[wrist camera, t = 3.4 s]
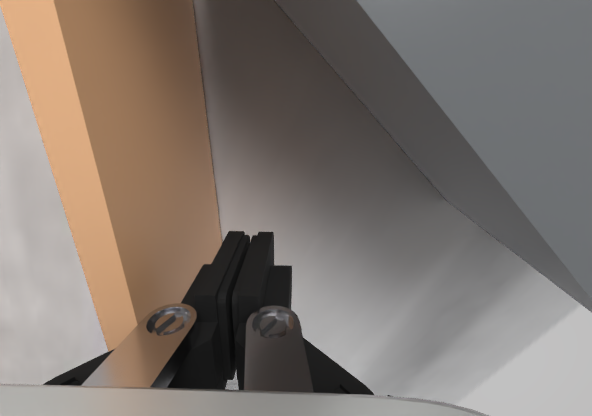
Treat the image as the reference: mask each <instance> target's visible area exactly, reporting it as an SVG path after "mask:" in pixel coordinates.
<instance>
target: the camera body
mask: <svg viewBox="0 0 592 416" xmlns="http://www.w3.org/2000/svg"><path fill="white" fill-rule="evenodd" d="M274 1H275V2H276V3H277V4H278V5H279V7H280V8H281V9H282V10H283V11H284V12H285V14H286V15H287V16H288V17H289V18H290V19H291V21H292V22H293V23H294V24H295V25H296V26H297V28H298V29H299V30H300V31H301V32H302V33H303V35H304V36H305V37H306V38H307V39H308V40H309V42H310V43H311V44H312V45H313V46H314V47H315V48H316V50H317V51H318V52H319V53H320V54H321V55H322V57H323V58H324V59H325V60H326V61H327V62H328V64H329V65H330V66H331V67H332V68H333V69H334V71H335V72H336V73H337V74H338V75H339V76H340V78H341V79H342V80H343V81H344V82H345V83H346V85H347V86H348V87H349V88H350V89H351V90H352V91H353V93H354V94H355V95H356V96H357V97H358V98H359V100H360V101H361V102H362V103H363V104H364V105H365V107H366V108H367V109H368V110H369V111H370V112H371V114H372V115H373V116H374V117H375V118H376V119H377V121H378V122H379V123H380V124H381V125H382V126H383V127H384V129H385V130H386V131H387V132H388V133H389V134H390V136H391V137H392V138H393V139H394V140H395V141H396V143H397V144H398V145H399V146H400V147H401V148H402V150H403V151H404V152H405V153H406V154H407V155H408V157H409V158H410V159H411V160H412V161H413V162H414V164H415V165H416V166H417V167H418V168H419V169H420V170H421V172H422V173H423V174H424V175H425V176H426V177H427V179H428V180H429V181H430V182H431V183H432V184H433V186H434V187H435V188H436V189H437V190H438V191H439V193H440V194H441V195H442V196H443V197H444V198H445V200H446V201H447V202H449V203H450V204H451V205H453V206H454V207H455V208H456V209H458V210H459V211H460V212H462V213H463V214H464V215H466V216H467V217H468V218H470V219H471V220H472V221H473V222H475V223H476V224H477V225H479V226H480V227H481V228H483V229H484V230H485V231H486V232H488V233H489V234H490V235H492V236H493V237H494V238H496V239H497V240H498V241H499V242H501V243H502V244H503V245H505V246H506V247H507V248H509V249H510V250H511V251H513V252H514V253H515V254H516V255H518V256H519V257H520V258H522V259H523V260H524V261H526V262H527V263H528V264H529V265H531V266H532V267H533V268H535V269H536V270H537V271H539V272H540V273H541V274H542V275H544V276H545V277H546V278H548V279H549V280H550V281H552V282H553V283H554V284H555V285H557V286H558V287H559V288H561V289H562V290H563V291H565V292H566V293H567V294H569V295H570V296H571V297H572V298H574V299H575V300H576V301H578V302H579V303H580V304H582V305H583V306H584V307H585V308H587V309H588V310H589V311H591V312H592V0H274Z"/></svg>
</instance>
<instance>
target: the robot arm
mask: <svg viewBox="0 0 592 416" xmlns="http://www.w3.org/2000/svg"><path fill="white" fill-rule="evenodd" d="M291 292H292V266H275V265H274V234H273V232H258V235H257V236H256V235H253V237H252V239H251V242H250V236H249V235H245V233H244V232H243V231H229V232H228V234H227V236H226V238H225V239H224V241H223V243H222V245H221V247H220V249H219V251H218V252H217V254H216V256H215V258H214V260H213V262H212V264H204V265H203V266H202V267H201V269H200V271H199V273H198V274H197V276H196V278H195V279H194V281H193V283H192V284H191V286H190V288H189V290H188V291H187V293H186V295H185V296H184V298H183V300H182V302H181V303H174V304H169V305H165V306H162V307H159V308H157V309H155V310H153V311H152V312H150V313H149V314H148V315H147V316H146V317H145V318H144V319H143V320H142V321H141V322H140V323H139V324H138V325H137V326H136V327H135V328H134V329H133V330H132V331H131V333H130V334H129V335H128V336H127V337H126V338H125V339H124V340H123V341H122V342H121V343H120V344H119V345H118V346H117V348H115V349H113V350H111V351H109V352H107V353H105V354H103V355H101V356H99V357H97V358H94V359H92V360H90V361H88V362H86V363H84V364H82V365H80V366H78V367H76V368H74V369H72V370H70V371H67V372H65V373H63V374H61V375H59V376H57V377H55V378H53V379H52V380H50V381H48V382H46V383H45V384H43V385H23V384H0V416H489V415H486V414H483V413H480V412H478V411H475V410H472V409H468V408H464V407H459V406H456V405H452V404H448V403H444V402H437V401H431V400H425V399H418V398H405V397H393V396H389V395H388V396H378V395H374V394H373V392H372V391H371V390H370V389H368V388H367V387H366V386H365V385H364V384H363V383H361V382H360V381H359V380H358V379H356V378H355V377H354V376H352V375H351V374H350V373H349V372H347V371H346V370H345V369H343V368H342V367H341V366H339V365H338V364H337V363H336V362H334V361H333V360H332V359H330V358H329V357H328V356H326V355H325V354H324V353H323V352H321V351H320V350H319V349H317V348H316V347H315V346H313V345H312V344H311V343H310V342H308V341H307V340H306V339H304V338H303V336H302V331H301V326H300V321H299V318H298V316H297V315H296V314H295V313H294V312H293V311H292V310H291ZM236 370H237V379H238V386H239V390H225V387H226V383H227V380H233V378H234V375H235V371H236Z"/></svg>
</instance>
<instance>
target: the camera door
mask: <svg viewBox="0 0 592 416" xmlns="http://www.w3.org/2000/svg"><path fill="white" fill-rule="evenodd" d="M0 6H1V9H2V12H3V15H4V19H5V22H6V25H7V28H8V31H9V34H10V38H11V41H12V44H13V47H14V50H15V54H16V57H17V60H18V63H19V66H20V70H21V73H22V76H23V79H24V82H25V86H26V89H27V92H28V95H29V98H30V102H31V105H32V108H33V111H34V114H35V118H36V121H37V124H38V127H39V130H40V134H41V137H42V140H43V143H44V146H45V150H46V153H47V156H48V159H49V162H50V166H51V169H52V172H53V175H54V178H55V182H56V185H57V188H58V191H59V194H60V198H61V201H62V204H63V207H64V210H65V214H66V217H67V220H68V223H69V226H70V230H71V233H72V236H73V239H74V242H75V246H76V249H77V252H78V255H79V258H80V262H81V265H82V268H83V271H84V274H85V278H86V281H87V284H88V287H89V290H90V294H91V297H92V300H93V303H94V306H95V310H96V313H97V316H98V319H99V322H100V326H101V329H102V332H103V335H104V338H105V342H106V345H107V348H108V351H111V350H113V349H115V348H117V346H118V345H119V344H120V343H121V342H122V341H123V340H124V339H125V338H126V337H127V336H128V335H129V334H130V333H131V331H132V330H133V329H134V328H135V327H136V326H137V325H138V324H139V323H140V322H141V321H142V320H143V319H144V318H145V317H146V316H147V315H148V314H149V313H150V312H152V311H153V310H155V309H157V308H159V307H162V306H165V305H169V304H174V303H181V302H182V300H183V298H184V296H185V295H186V293H187V291H188V290H189V288H190V286H191V284H192V283H193V281H194V279H195V278H196V276H197V274H198V273H199V271H200V269H201V267H202V266H203V265H204V264H212V262H213V260H214V258H215V256H216V254H217V252H218V251H219V249H220V247H221V245H222V239H221V231H220V222H219V214H218V206H217V198H216V190H215V181H214V173H213V165H212V157H211V149H210V140H209V132H208V124H207V116H206V108H205V100H204V91H203V83H202V75H201V67H200V59H199V50H198V42H197V34H196V26H195V18H194V9H193V1H192V0H0Z"/></svg>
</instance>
